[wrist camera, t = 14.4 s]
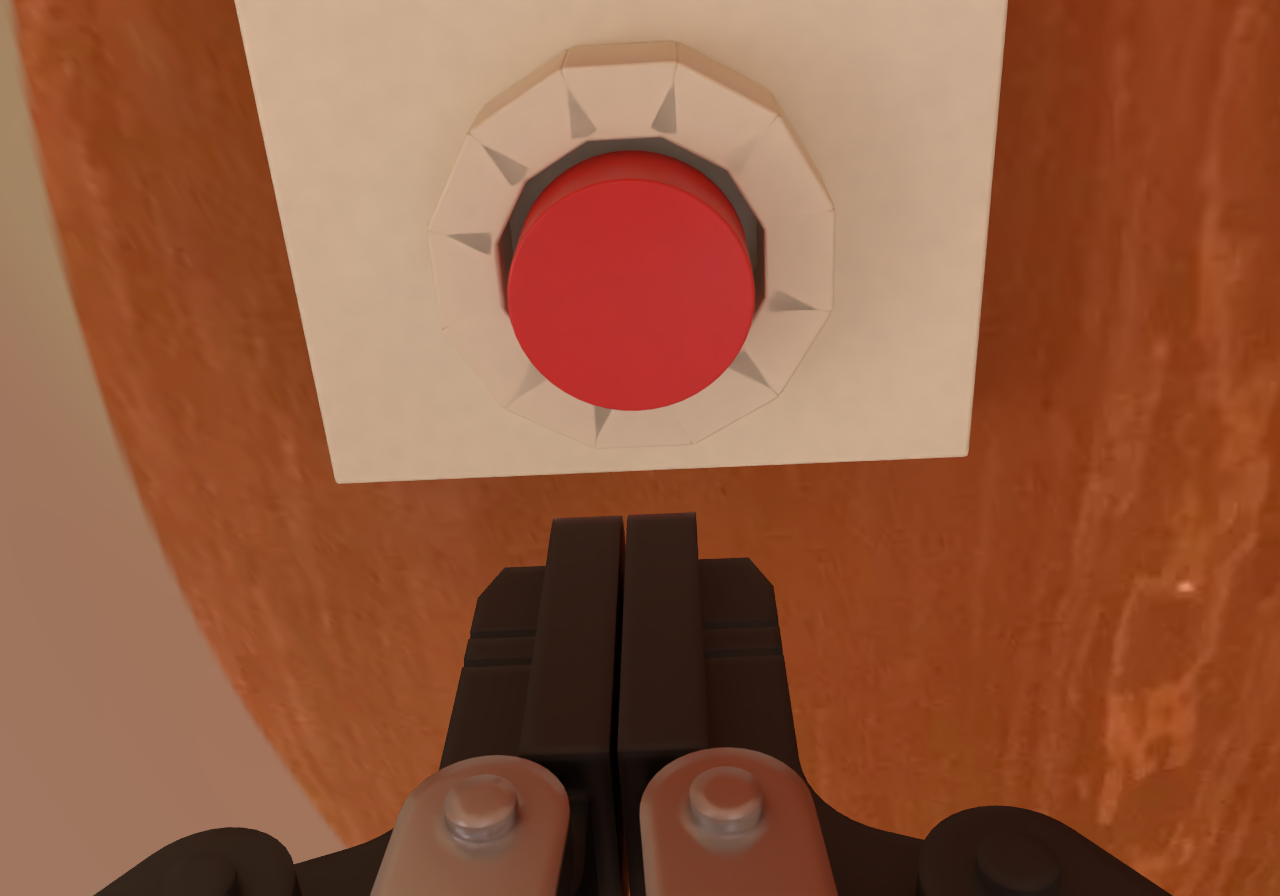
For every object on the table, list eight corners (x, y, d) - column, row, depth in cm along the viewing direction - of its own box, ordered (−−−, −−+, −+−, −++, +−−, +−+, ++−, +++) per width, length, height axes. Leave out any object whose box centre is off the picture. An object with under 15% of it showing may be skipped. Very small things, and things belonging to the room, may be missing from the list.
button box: (358, 435, 26) (312, 533, 23) (264, -48, 22) (188, -17, 18) (945, 409, 26) (990, 504, 22) (984, -92, 21) (1048, -69, 18)
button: (529, 373, 22) (520, 417, 20) (505, 155, 20) (493, 186, 18) (749, 363, 21) (756, 407, 20) (745, 142, 20) (754, 172, 18)
